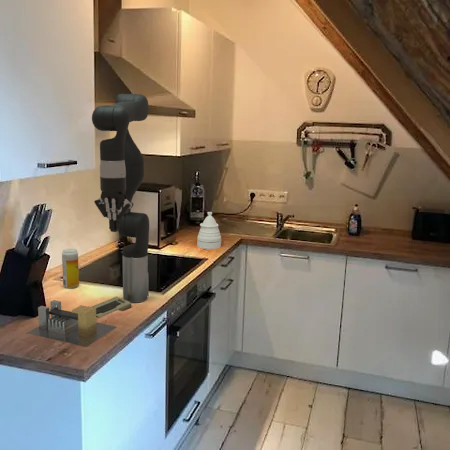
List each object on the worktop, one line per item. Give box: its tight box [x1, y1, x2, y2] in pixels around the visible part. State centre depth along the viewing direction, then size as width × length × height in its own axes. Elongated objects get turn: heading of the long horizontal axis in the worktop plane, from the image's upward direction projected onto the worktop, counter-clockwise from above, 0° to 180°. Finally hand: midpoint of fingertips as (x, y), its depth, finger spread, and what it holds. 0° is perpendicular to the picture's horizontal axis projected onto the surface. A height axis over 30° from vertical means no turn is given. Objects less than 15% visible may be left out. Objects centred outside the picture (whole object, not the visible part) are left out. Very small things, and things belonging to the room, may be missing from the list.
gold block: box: [71, 304, 97, 337], centre depth 157 cm, size 5×6×8 cm
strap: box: [49, 307, 78, 320], centre depth 159 cm, size 3×14×1 cm, turn 68°
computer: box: [90, 296, 132, 319], centre depth 178 cm, size 16×8×3 cm, turn 147°
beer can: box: [61, 248, 80, 290], centre depth 200 cm, size 6×6×15 cm
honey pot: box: [196, 211, 222, 250], centre depth 269 cm, size 13×13×18 cm
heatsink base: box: [26, 299, 117, 348], centre depth 159 cm, size 16×22×8 cm
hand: (114, 231), depth 154 cm, fingers closed
